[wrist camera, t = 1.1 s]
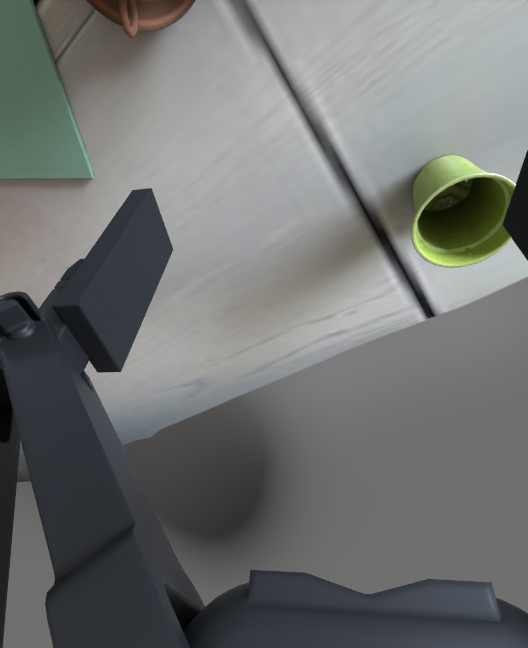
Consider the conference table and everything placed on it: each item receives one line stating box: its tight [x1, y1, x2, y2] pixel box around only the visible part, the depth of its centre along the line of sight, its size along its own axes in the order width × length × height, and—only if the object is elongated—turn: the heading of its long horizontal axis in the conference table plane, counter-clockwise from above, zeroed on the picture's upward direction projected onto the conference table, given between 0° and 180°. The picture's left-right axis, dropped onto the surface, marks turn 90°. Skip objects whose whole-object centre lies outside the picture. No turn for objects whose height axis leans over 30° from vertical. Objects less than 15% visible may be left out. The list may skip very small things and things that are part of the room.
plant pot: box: [411, 155, 516, 268], centre depth 37 cm, size 9×9×9 cm
